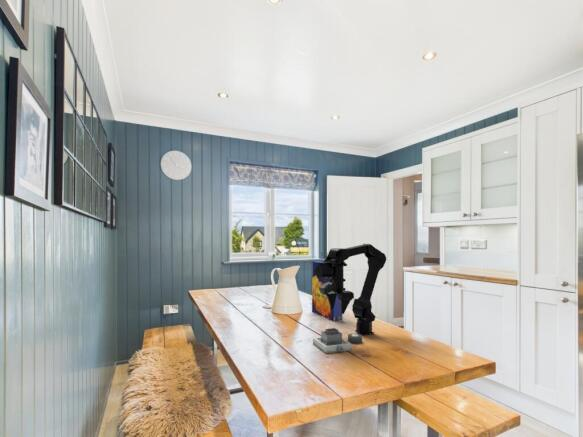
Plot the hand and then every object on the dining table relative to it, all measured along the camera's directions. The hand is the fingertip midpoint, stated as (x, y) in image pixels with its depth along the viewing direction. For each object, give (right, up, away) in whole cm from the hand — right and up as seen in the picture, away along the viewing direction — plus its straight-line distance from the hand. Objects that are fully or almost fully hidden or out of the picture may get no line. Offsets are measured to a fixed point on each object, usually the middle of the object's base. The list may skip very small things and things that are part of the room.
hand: (337, 311), depth 145 cm
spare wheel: (+7, -12, -4) cm, 14 cm away
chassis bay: (-4, -11, -12) cm, 17 cm away
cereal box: (-1, -14, +38) cm, 40 cm away
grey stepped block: (-4, -10, -12) cm, 16 cm away
